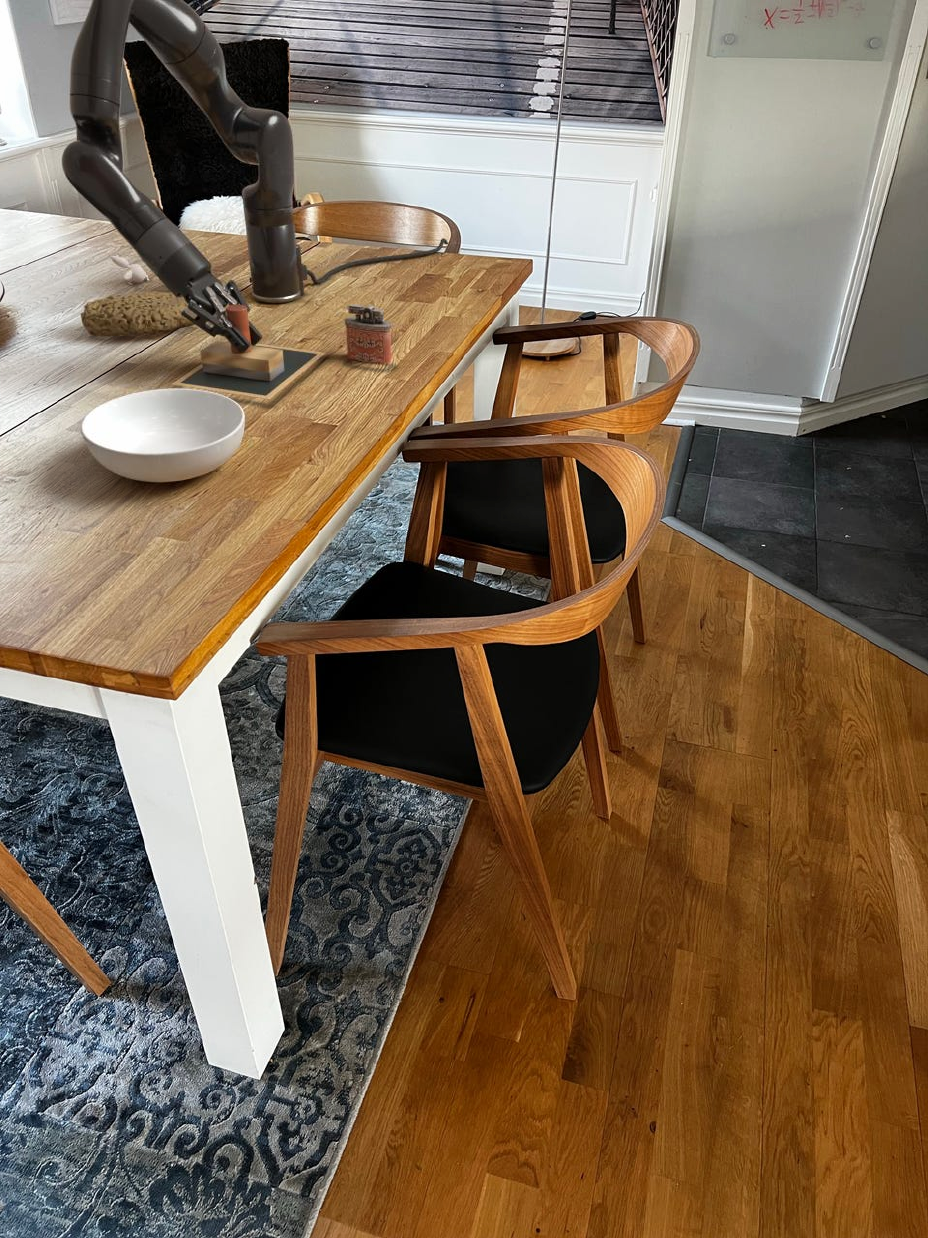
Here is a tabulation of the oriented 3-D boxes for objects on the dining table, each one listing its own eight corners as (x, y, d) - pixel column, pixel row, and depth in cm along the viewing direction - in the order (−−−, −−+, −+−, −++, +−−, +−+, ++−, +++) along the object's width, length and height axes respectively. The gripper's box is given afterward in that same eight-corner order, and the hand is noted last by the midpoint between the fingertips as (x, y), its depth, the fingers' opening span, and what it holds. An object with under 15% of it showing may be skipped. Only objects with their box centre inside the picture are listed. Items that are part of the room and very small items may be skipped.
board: (236, 346, 166) (236, 340, 165) (326, 359, 162) (325, 352, 161) (172, 391, 150) (170, 383, 149) (269, 406, 146) (268, 398, 145)
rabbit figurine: (158, 282, 195) (127, 272, 188) (147, 295, 197) (116, 286, 190) (145, 260, 196) (114, 250, 189) (134, 274, 198) (103, 264, 191)
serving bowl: (170, 518, 118) (161, 468, 114) (58, 474, 127) (45, 426, 123) (281, 455, 132) (276, 409, 128) (173, 420, 141) (166, 375, 137)
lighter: (395, 365, 161) (394, 305, 155) (387, 372, 158) (386, 312, 152) (351, 358, 163) (348, 299, 157) (343, 365, 160) (340, 306, 154)
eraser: (203, 371, 153) (193, 307, 147) (218, 361, 157) (210, 298, 151) (270, 381, 150) (264, 317, 144) (284, 370, 154) (278, 307, 148)
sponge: (87, 351, 166) (195, 329, 164) (71, 305, 163) (181, 282, 161) (114, 339, 178) (215, 318, 176) (100, 295, 175) (203, 275, 173)
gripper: (160, 253, 139) (244, 345, 143) (209, 230, 150) (286, 317, 154) (135, 286, 143) (217, 375, 147) (184, 261, 154) (260, 345, 158)
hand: (252, 345), depth 150 cm, fingers closed on eraser, 3 cm apart
